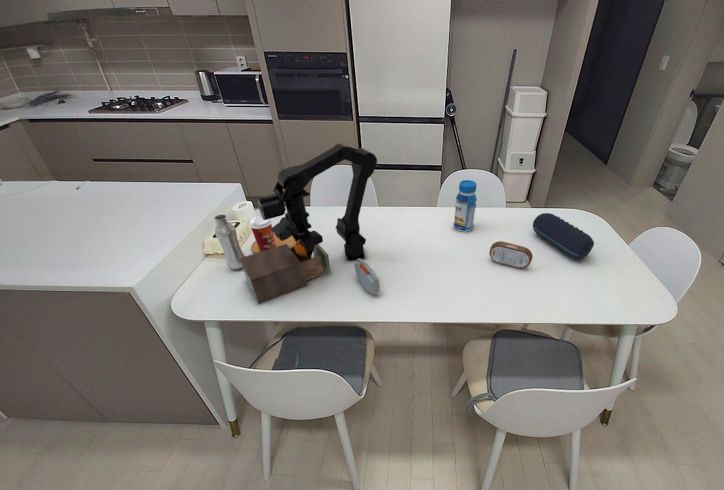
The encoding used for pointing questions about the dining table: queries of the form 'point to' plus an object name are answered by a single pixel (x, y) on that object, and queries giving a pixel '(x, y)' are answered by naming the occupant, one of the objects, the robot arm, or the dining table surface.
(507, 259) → the tin
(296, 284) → the cabinet
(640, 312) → the dining table surface
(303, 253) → the orange
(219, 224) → the plastic bottle
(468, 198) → the beverage bottle
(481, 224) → the dining table surface
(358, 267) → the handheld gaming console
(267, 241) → the paper cup
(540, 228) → the portable speaker
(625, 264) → the dining table surface
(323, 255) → the drawer
